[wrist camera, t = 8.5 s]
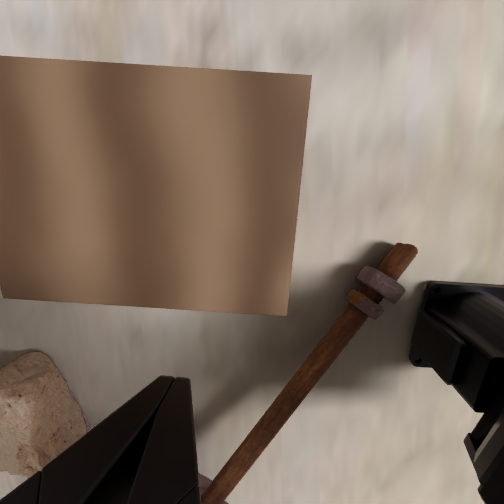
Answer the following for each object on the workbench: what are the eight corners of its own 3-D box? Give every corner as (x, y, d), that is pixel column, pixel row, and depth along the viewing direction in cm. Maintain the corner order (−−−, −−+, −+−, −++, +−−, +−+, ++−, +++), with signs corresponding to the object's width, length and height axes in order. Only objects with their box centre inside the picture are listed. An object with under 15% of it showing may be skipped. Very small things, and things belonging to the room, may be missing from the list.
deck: (299, 95, 17) (311, 75, 13) (281, 287, 20) (286, 316, 17) (22, 78, 17) (-47, 52, 13) (50, 273, 20) (2, 298, 17)
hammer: (110, 524, 26) (38, 719, 16) (330, 214, 24) (404, 214, 14) (176, 555, 27) (148, 757, 17) (391, 260, 25) (501, 290, 15)
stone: (70, 340, 22) (19, 388, 17) (111, 454, 25) (77, 521, 21) (-40, 351, 23) (-119, 401, 18) (14, 462, 26) (-41, 528, 21)
